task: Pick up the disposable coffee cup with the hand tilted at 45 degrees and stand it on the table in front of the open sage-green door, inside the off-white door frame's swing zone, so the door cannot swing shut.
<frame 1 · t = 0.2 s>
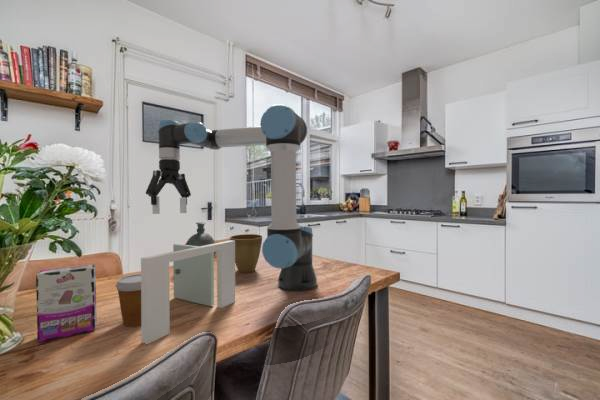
hand: (170, 213, 110), 28 cm above the table, tool pointing down, fingers open, 13 cm apart
candy bar box: (68, 333, 70), on the table
flask: (200, 268, 133), on the table
disposable coffee cup: (136, 322, 77), on the table
door: (192, 273, 90), point 9 cm above the table, hinge at -88.0°
plant pot: (246, 271, 128), on the table
door frame: (195, 318, 78), on the table
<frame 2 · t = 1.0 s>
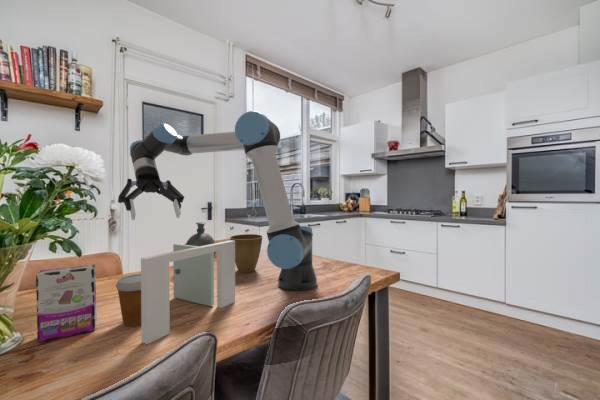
hand: (157, 216, 91), 28 cm above the table, tool tilted 45°, fingers open, 13 cm apart
nothing on the table moved.
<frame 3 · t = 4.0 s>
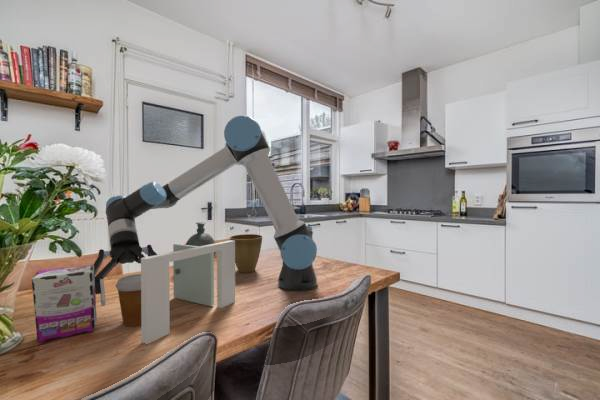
hand: (133, 297, 77), 7 cm above the table, tool tilted 45°, fingers open, 13 cm apart
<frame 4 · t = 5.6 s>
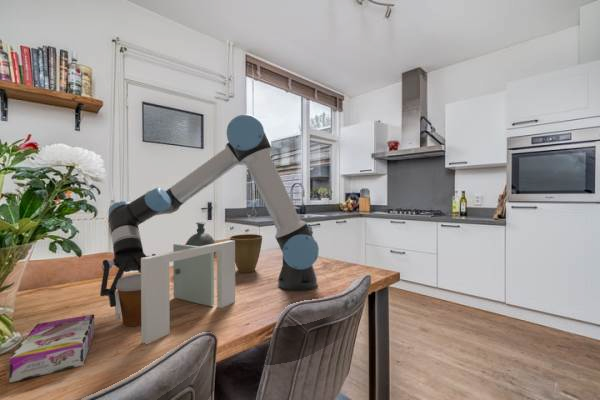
hand: (139, 311, 74), 4 cm above the table, tool tilted 45°, fingers closed on disposable coffee cup, 8 cm apart
candy bar box: (66, 326, 68), point 3 cm above the table
disposable coffee cup: (136, 322, 77), on the table, touching gripper
everything else where it was.
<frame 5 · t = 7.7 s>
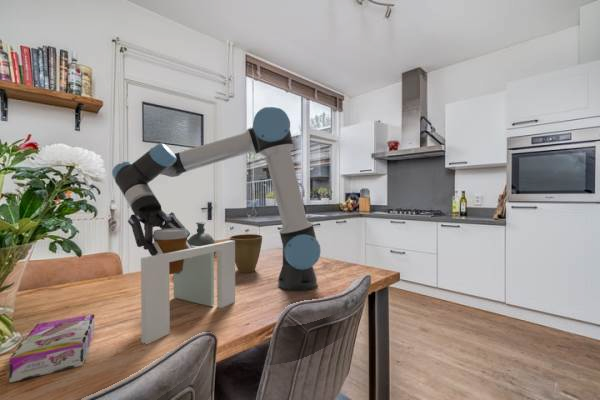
hand: (178, 259, 78), 17 cm above the table, tool tilted 45°, fingers closed on disposable coffee cup, 8 cm apart
disposable coffee cup: (170, 272, 80), point 13 cm above the table, touching gripper
everything else where it was.
when the fingers open (5 cm above the table, at t = 10.4 s): disposable coffee cup moves 1 cm, on the table.
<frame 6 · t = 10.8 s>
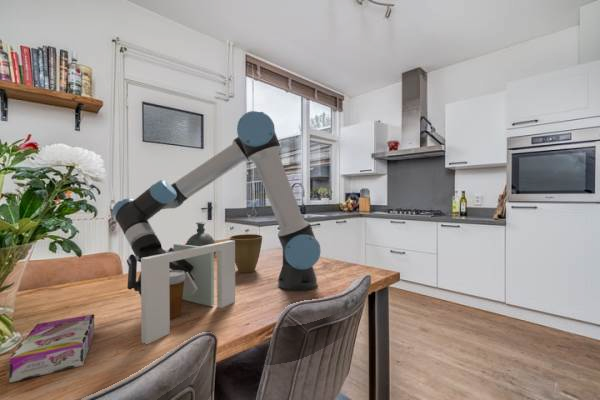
hand: (176, 298, 79), 5 cm above the table, tool tilted 45°, fingers open, 12 cm apart
disposable coffee cup: (168, 315, 81), on the table
door: (192, 273, 90), point 9 cm above the table, hinge at -88.1°, touching gripper, hand
everything else where it was.
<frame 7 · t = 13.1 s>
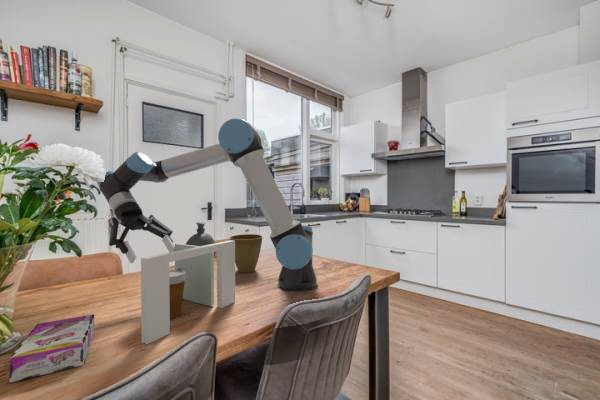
hand: (155, 255, 88), 16 cm above the table, tool tilted 45°, fingers open, 13 cm apart
door: (193, 273, 91), point 9 cm above the table, hinge at -89.9°, touching gripper
everything else where it was.
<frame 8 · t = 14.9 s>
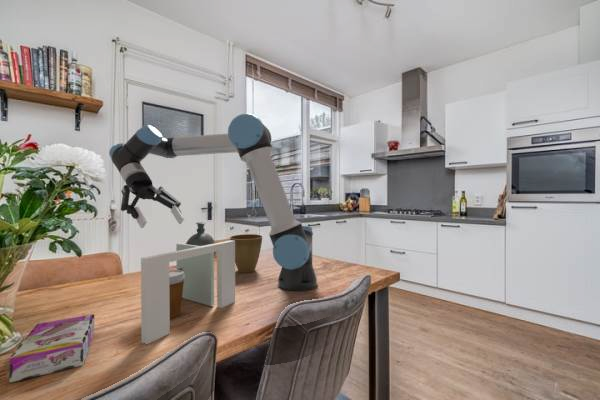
hand: (164, 223, 91), 26 cm above the table, tool tilted 45°, fingers open, 13 cm apart
door: (194, 273, 91), point 9 cm above the table, hinge at -92.1°
everything else where it was.
at the end: disposable coffee cup inside the target area (0.6 cm from its centre), on the table; disposable coffee cup tilted 1°; door at -92° (first picture: -88°) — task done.
